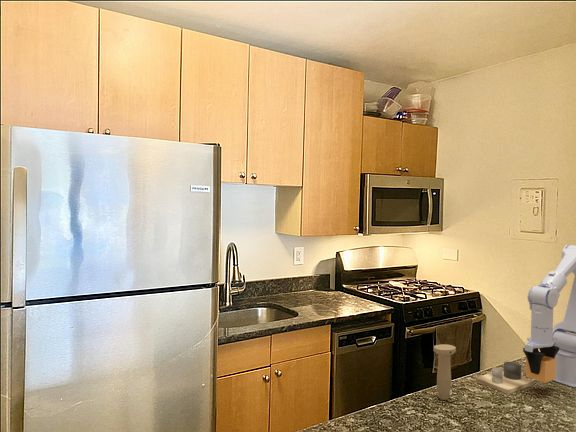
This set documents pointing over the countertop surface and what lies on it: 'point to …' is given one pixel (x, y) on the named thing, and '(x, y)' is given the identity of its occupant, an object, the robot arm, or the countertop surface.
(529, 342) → the robot arm
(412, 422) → the countertop surface
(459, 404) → the countertop surface
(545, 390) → the countertop surface
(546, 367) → the sleeve
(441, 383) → the handle
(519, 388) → the fitting board
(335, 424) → the countertop surface
